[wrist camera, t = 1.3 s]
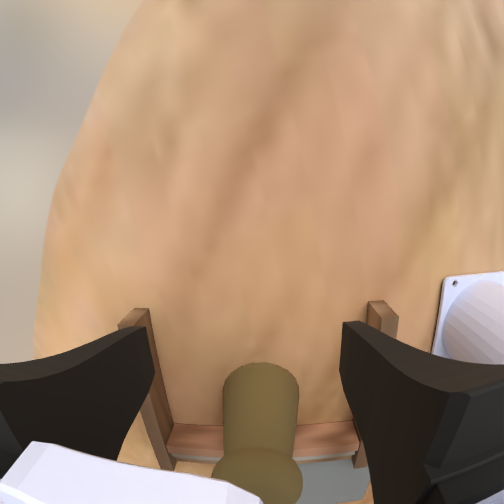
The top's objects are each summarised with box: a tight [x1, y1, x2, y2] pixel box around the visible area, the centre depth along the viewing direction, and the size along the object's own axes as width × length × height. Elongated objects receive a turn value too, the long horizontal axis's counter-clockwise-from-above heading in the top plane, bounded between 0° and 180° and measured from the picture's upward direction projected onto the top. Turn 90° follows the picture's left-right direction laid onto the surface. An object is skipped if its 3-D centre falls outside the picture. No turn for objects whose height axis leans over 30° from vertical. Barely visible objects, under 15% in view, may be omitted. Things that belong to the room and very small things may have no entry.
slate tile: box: [295, 458, 370, 504], centre depth 25 cm, size 12×9×1 cm
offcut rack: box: [118, 300, 399, 471], centre depth 22 cm, size 18×15×3 cm
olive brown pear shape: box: [211, 363, 303, 504], centre depth 18 cm, size 6×6×11 cm
